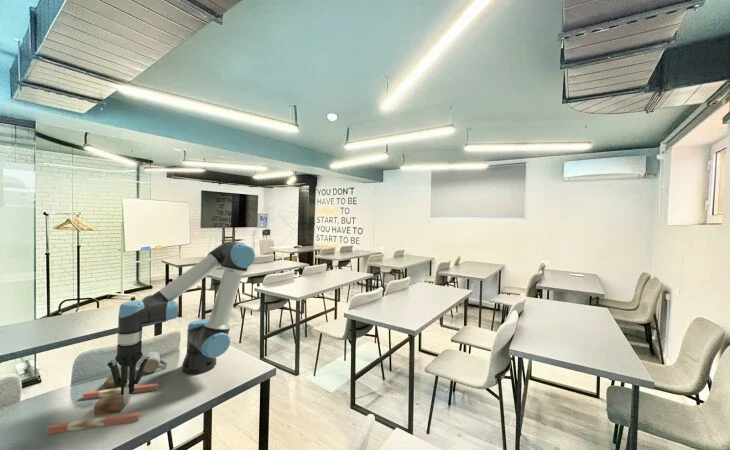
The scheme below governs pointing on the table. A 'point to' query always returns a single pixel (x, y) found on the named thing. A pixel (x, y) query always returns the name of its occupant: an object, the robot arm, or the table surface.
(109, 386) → the stone block
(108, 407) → the walnut block
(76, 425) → the rails
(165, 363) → the ceramic mug
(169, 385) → the table surface
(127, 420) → the rails
